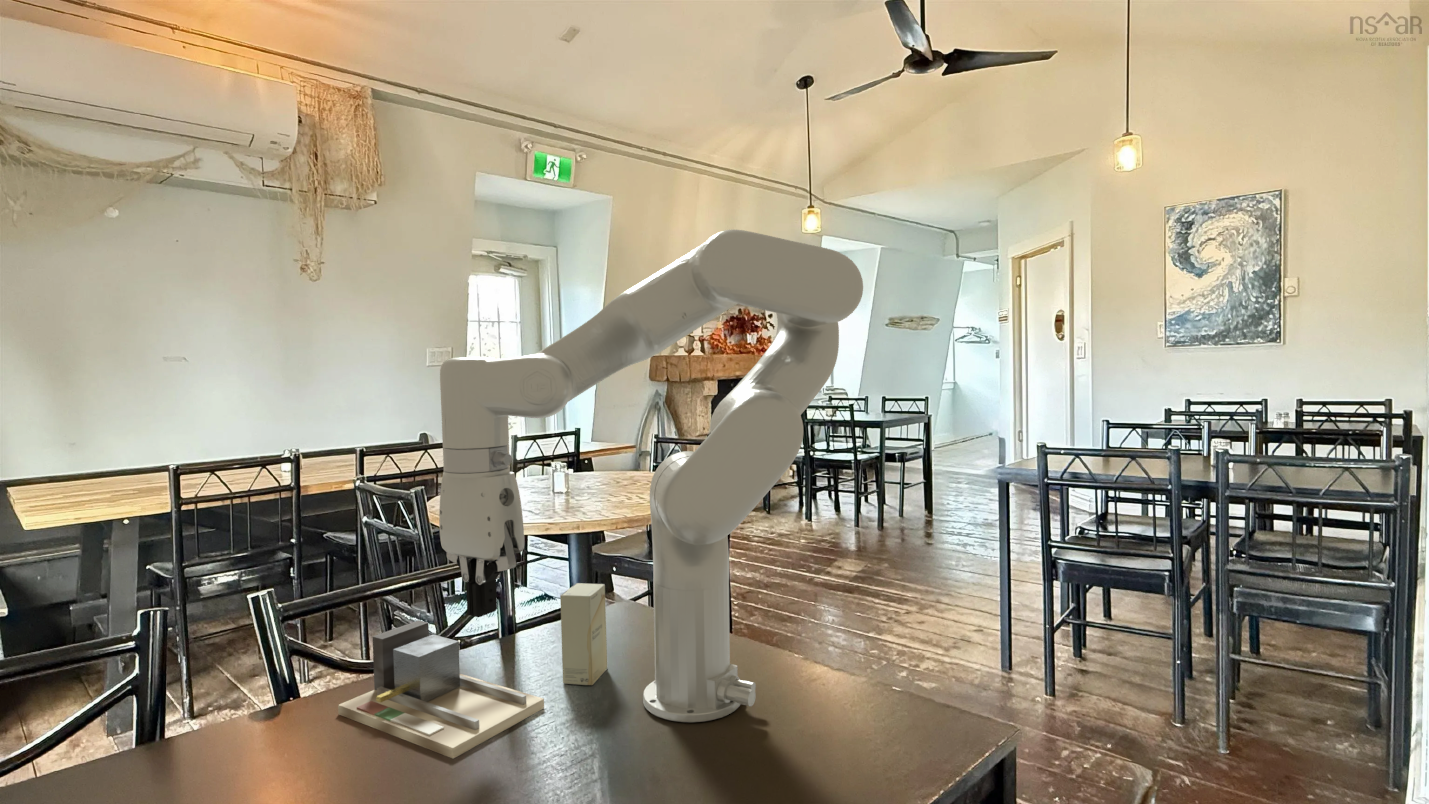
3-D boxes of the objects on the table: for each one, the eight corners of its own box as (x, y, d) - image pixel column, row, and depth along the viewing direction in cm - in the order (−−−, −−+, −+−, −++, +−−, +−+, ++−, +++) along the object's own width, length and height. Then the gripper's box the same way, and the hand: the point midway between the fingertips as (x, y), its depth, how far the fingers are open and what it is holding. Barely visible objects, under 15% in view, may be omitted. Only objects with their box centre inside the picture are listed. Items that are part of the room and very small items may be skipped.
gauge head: (460, 686, 99) (458, 641, 99) (392, 718, 91) (390, 668, 91) (434, 678, 102) (432, 634, 102) (366, 708, 94) (364, 660, 93)
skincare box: (592, 687, 102) (590, 596, 101) (561, 684, 103) (558, 595, 102) (608, 668, 108) (606, 583, 107) (578, 666, 109) (576, 581, 108)
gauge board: (544, 708, 96) (542, 643, 95) (453, 758, 84) (450, 685, 83) (433, 673, 107) (430, 615, 106) (338, 714, 95) (335, 649, 94)
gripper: (545, 460, 90) (550, 613, 91) (459, 454, 98) (464, 595, 99) (497, 469, 84) (503, 633, 85) (409, 461, 92) (415, 612, 93)
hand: (482, 612), depth 92 cm, fingers closed
